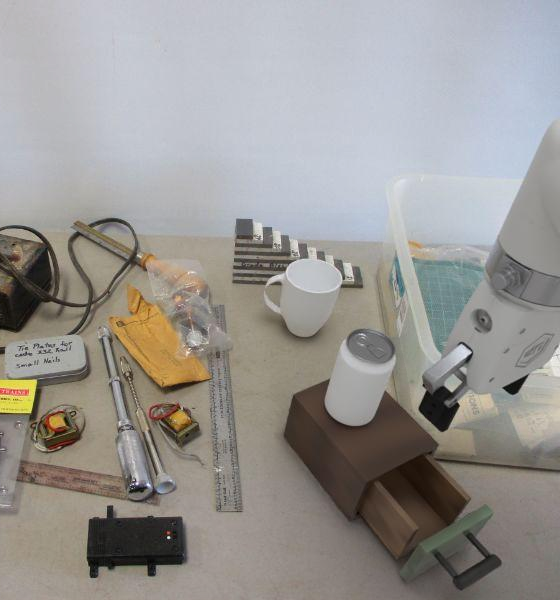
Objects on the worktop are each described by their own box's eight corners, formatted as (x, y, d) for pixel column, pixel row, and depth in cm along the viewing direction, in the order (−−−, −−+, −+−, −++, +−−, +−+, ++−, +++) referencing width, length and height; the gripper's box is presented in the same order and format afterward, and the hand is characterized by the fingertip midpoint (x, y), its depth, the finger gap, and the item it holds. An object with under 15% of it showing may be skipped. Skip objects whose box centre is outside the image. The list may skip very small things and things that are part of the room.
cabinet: (417, 485, 79) (439, 444, 73) (349, 521, 76) (366, 482, 69) (346, 406, 89) (360, 364, 83) (282, 435, 85) (292, 394, 79)
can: (346, 380, 80) (367, 317, 72) (384, 411, 77) (411, 349, 68) (313, 403, 78) (331, 340, 69) (351, 436, 74) (375, 374, 66)
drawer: (498, 574, 70) (526, 544, 64) (433, 616, 66) (457, 588, 61) (392, 458, 81) (408, 424, 76) (332, 489, 78) (345, 456, 73)
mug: (329, 315, 104) (343, 261, 96) (326, 350, 97) (341, 297, 89) (263, 303, 106) (271, 250, 98) (256, 337, 100) (264, 284, 92)
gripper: (505, 331, 42) (432, 466, 53) (652, 262, 48) (559, 397, 59) (425, 272, 47) (374, 407, 58) (567, 216, 53) (496, 349, 64)
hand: (467, 402), depth 59 cm, fingers open, 9 cm apart
